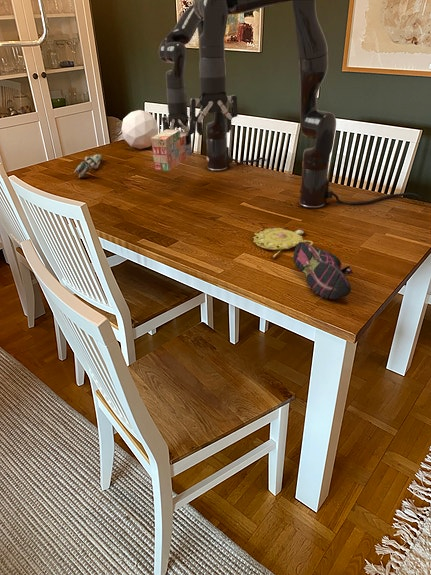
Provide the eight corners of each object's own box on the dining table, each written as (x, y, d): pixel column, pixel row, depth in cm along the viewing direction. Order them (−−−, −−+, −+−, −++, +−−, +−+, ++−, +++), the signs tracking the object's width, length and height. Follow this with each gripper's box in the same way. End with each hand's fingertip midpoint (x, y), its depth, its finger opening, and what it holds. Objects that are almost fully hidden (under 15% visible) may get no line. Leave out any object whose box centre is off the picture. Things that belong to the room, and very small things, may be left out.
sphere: (134, 159, 245) (115, 127, 242) (165, 142, 247) (146, 110, 244) (133, 150, 226) (112, 115, 223) (166, 132, 228) (146, 97, 226)
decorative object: (267, 219, 151) (324, 228, 141) (267, 226, 152) (323, 235, 143) (237, 243, 137) (298, 255, 127) (238, 250, 138) (298, 263, 128)
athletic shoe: (337, 289, 105) (377, 281, 109) (296, 226, 117) (333, 221, 121) (320, 316, 114) (357, 308, 118) (283, 255, 126) (318, 250, 130)
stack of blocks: (178, 153, 186) (176, 123, 180) (192, 154, 184) (190, 123, 177) (154, 170, 170) (150, 137, 163) (168, 171, 168) (165, 138, 161)
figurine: (78, 158, 192) (99, 144, 218) (67, 172, 195) (90, 156, 221) (91, 170, 194) (110, 155, 220) (80, 183, 197) (101, 166, 224)
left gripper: (155, 101, 170) (160, 145, 179) (189, 102, 165) (192, 147, 175) (164, 97, 176) (169, 140, 185) (197, 98, 171) (200, 142, 180)
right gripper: (191, 77, 121) (194, 138, 129) (240, 74, 124) (240, 133, 133) (185, 74, 127) (188, 132, 136) (232, 71, 130) (232, 128, 139)
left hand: (180, 143), depth 180 cm, fingers closed on stack of blocks, 6 cm apart
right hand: (214, 133), depth 134 cm, fingers open, 8 cm apart
